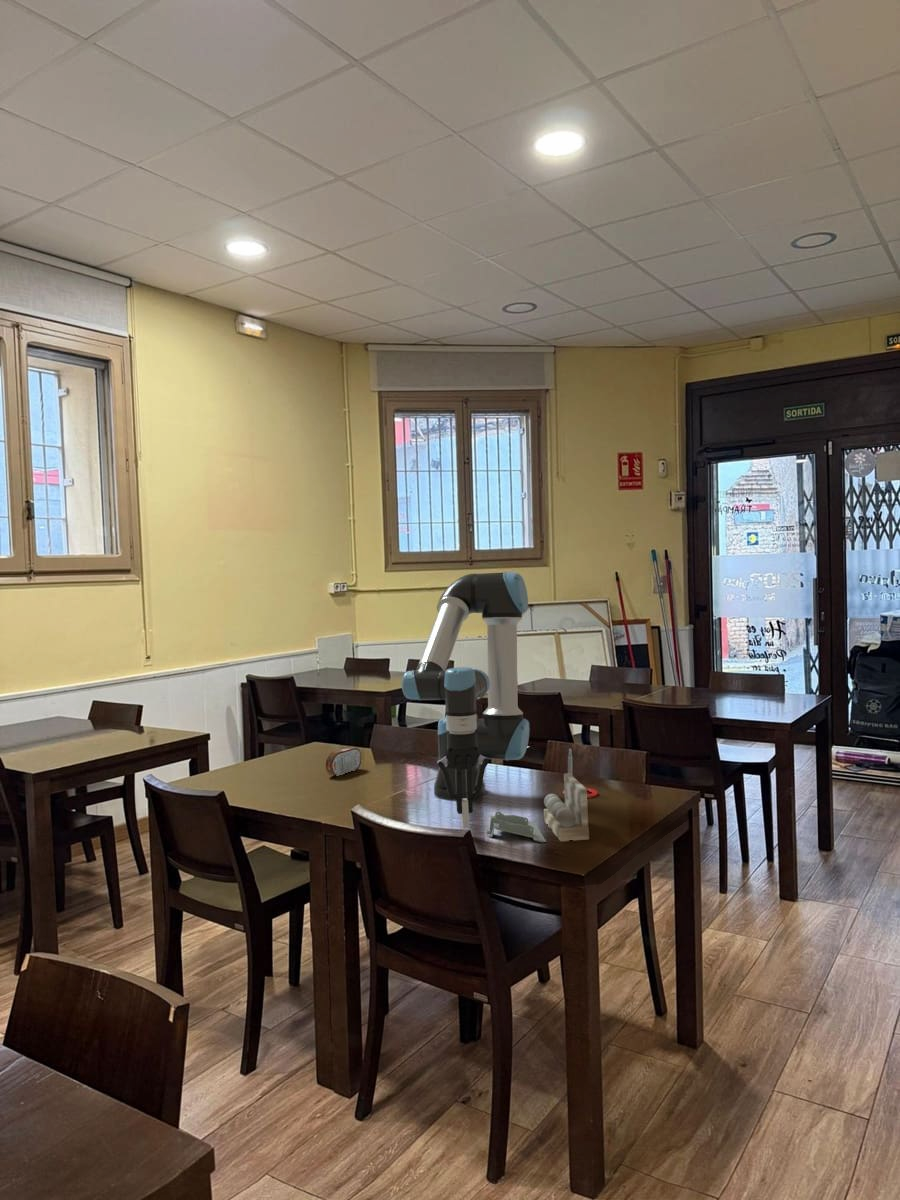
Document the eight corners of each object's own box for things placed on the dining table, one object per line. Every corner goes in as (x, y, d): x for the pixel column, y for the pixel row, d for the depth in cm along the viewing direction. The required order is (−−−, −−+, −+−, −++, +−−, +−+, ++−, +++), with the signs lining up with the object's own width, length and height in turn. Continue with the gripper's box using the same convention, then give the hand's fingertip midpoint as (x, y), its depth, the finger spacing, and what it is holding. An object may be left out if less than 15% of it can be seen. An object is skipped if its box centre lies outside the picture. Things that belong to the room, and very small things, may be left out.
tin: (356, 768, 278) (355, 743, 278) (363, 769, 276) (362, 744, 276) (325, 778, 266) (324, 752, 266) (332, 779, 264) (331, 753, 264)
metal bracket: (495, 823, 195) (487, 805, 210) (489, 846, 195) (482, 827, 210) (553, 836, 196) (541, 817, 211) (547, 859, 196) (535, 839, 211)
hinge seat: (544, 820, 213) (542, 774, 213) (570, 818, 214) (569, 772, 214) (560, 841, 196) (558, 791, 196) (589, 839, 197) (587, 789, 197)
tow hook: (602, 795, 237) (575, 789, 243) (603, 751, 236) (575, 746, 242) (587, 802, 230) (559, 795, 236) (588, 757, 229) (560, 751, 235)
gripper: (437, 735, 197) (440, 833, 198) (490, 732, 198) (494, 828, 199) (433, 729, 204) (437, 823, 205) (485, 726, 206) (488, 819, 207)
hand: (465, 826), depth 202 cm, fingers closed
